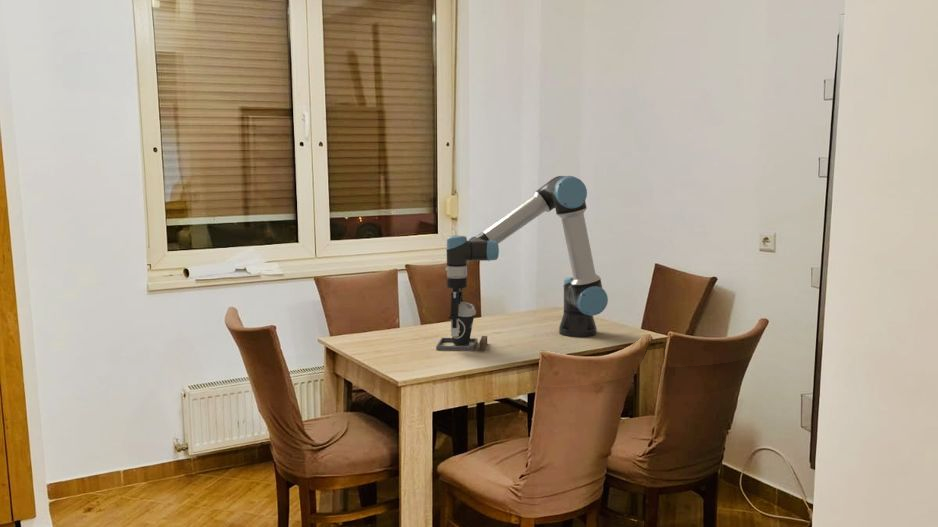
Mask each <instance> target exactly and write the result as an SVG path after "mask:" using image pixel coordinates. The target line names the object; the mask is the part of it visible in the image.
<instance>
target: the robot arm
mask: <svg viewBox="0 0 938 527" xmlns="http://www.w3.org/2000/svg"><path fill="white" fill-rule="evenodd" d="M587 197H588V189H587V187H586V184H585V183H584V182H583V181H582V180H581V179H580V178H578V177H576V176H572V175H557V176H555V177H553V178H552V179H550V180H549V181H547V182H546V183H545V184H543V185H541V187H540V188H538V189H537V190H535V191H534V194H533V196H531V197H530V198H529V199H527V200H526V201H524V202H523V203H522V204H520V205H519V206H517V207H516V208H514V209H513V210H511V211H510V212H508V213H507V214H506V215H504V216H503V217H501V218H500V219H499V220H497V221H495V222H494V223H493V224H491V225H490V226H488V227H487V228H486V229H485V230H483V231H482V232H480V233H479V234H477V235H476V236H473V237H472V236H471V237H470V238H469V239H467V236H466V235H449V236H448V237H447V239H446V267H445V269H444V270H445V271H446V276H447V277H446V288H449V289H452V291H451V292H450V293H451V294H450V297H451V298H450V299H451V300H450V315H449V316H448V319H449V320H450V337H452V336H453V337H458V336H459V319H458V311H459V304H460V303H461V302H464V298H463V297H464V296H463V295H464V292H463V289H465V288H467V286H468V278H467V275H468V264H467V263H468V262H472V261H477V262H478V261H481V262H482V261H483V262H484V261H487V262H490V261H496V260H498V258H499V254H500V251H499V250H500V248H499V244H500V243H502V242H503V241H504V240H506V239H507V238H509V237H510V236H511V235H513V234H515V233H516V232H517V231H519V230H520V229H522V228H524V226H526V225H527V224H529V223H531V222H532V221H533V220H535V219H536V218H538V217H539V216H540V215H542V214H543V213H545V212H547V213H549V212H551V211H552V210H553V209H554V210H555V213H556V215H557V216H558V217H559V218H561V223H562V228H563V232H564V237H565V238H564V239H565V244H566V247H567V252H568V258H569V262H570V263H569V264H570V267H571V272H572V273H571V274H572V277H565V278H564V280H563V315H562V318H561V321H560V323H559V328H558V333H559V334H560V335H563V336H566V337H577V338H580V337H582V338H583V337H584V338H586V337H593V336H595V335H597V330H598V329H597V326H596V321H595V319H594V316H597V315H599V314H601V313H603V312H604V310H605V309H606V308H607V306H608V302H609V296H608V294H607V292H606V290H605V289H604V288H603V285H602V280H601V277H600V275H598V274H597V273H596V270H595V263H594V260H593V255H592V249H591V245H590V240H589V234H588V230H587V229H588V228H587V224H586V219H585V211H586V210H587V209H588V208H587V203H586V200H587Z"/></svg>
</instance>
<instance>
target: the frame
mask: <svg viewBox="0 0 938 527" xmlns="http://www.w3.org/2000/svg"><path fill="white" fill-rule="evenodd" d="M443 343H453V342H452V337H441V338H440V340H439V341H438V343H437V344H436V347H435V350H436V351H437V350H438V351H467V352H470V351H475V348H476V346H477V345H478V343H479V342H478V337H477V338H475V337H470V341H469V343H473V344H472V346H468V345H465V346H459V345H442V344H443Z"/></svg>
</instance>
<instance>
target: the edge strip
mask: <svg viewBox="0 0 938 527" xmlns="http://www.w3.org/2000/svg"><path fill="white" fill-rule="evenodd" d="M487 345H488V335H482V336H481V337H480V340H479V342H478V351H479V352H485V351H486V349H487Z"/></svg>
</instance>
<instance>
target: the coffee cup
mask: <svg viewBox="0 0 938 527" xmlns="http://www.w3.org/2000/svg"><path fill="white" fill-rule="evenodd" d="M476 313H477V311H476V308H475V305H474V304H472V303H470V302H468V301H467V302H465V301H463V302H461V303H460V304H459V311H458V319H459V336H458V337H453V336H451V338H452V342H451V343H452V344H454V346H468V345H469V344H470V342H469V341H470V338H471V334H472V330H473V326H474V325H473V323H474V319H475V315H476Z"/></svg>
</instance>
